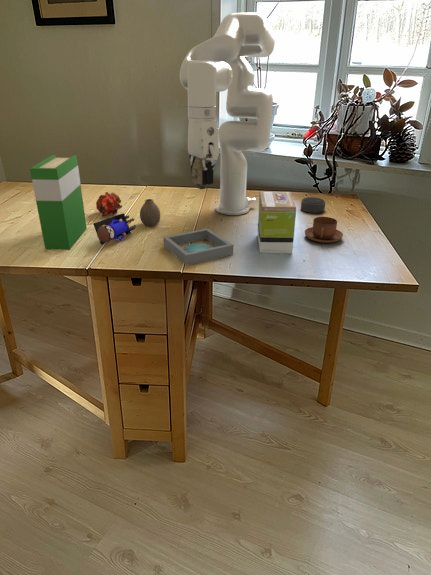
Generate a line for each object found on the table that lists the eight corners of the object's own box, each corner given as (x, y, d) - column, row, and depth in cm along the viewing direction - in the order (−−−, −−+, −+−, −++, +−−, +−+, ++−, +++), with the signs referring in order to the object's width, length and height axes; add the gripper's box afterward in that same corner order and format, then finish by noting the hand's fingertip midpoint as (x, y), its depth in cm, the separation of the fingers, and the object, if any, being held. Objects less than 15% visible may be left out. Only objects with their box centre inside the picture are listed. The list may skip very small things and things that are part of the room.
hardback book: (64, 228, 146) (52, 154, 135) (86, 228, 146) (76, 155, 135) (45, 249, 131) (29, 168, 120) (69, 249, 131) (56, 168, 119)
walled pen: (207, 237, 141) (207, 228, 139) (233, 254, 129) (233, 244, 128) (163, 246, 134) (163, 237, 133) (186, 265, 122) (186, 255, 121)
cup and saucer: (346, 246, 136) (349, 227, 133) (307, 245, 136) (309, 226, 133) (337, 232, 146) (339, 214, 144) (301, 231, 147) (303, 214, 144)
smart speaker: (322, 215, 161) (324, 204, 159) (298, 212, 164) (299, 202, 162) (325, 208, 169) (327, 198, 167) (302, 205, 171) (303, 195, 169)
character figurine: (140, 235, 142) (106, 251, 131) (124, 229, 146) (89, 244, 135) (140, 213, 138) (104, 227, 127) (123, 207, 142) (87, 220, 131)
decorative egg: (207, 192, 122) (208, 155, 118) (188, 190, 124) (187, 154, 119) (215, 187, 127) (215, 152, 123) (196, 185, 129) (196, 150, 124)
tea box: (256, 234, 143) (259, 190, 136) (287, 235, 143) (291, 190, 136) (258, 253, 130) (262, 205, 123) (292, 254, 130) (297, 206, 123)
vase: (157, 229, 147) (155, 203, 143) (137, 227, 148) (135, 202, 144) (163, 222, 153) (162, 197, 149) (144, 220, 154) (142, 196, 150)
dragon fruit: (119, 212, 166) (106, 228, 156) (100, 199, 164) (85, 213, 155) (129, 197, 161) (116, 211, 151) (109, 182, 159) (95, 196, 150)
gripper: (231, 116, 111) (229, 186, 120) (199, 110, 125) (199, 173, 133) (205, 117, 108) (205, 190, 116) (175, 111, 121) (176, 176, 130)
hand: (201, 180), depth 125 cm, fingers closed on decorative egg, 6 cm apart
